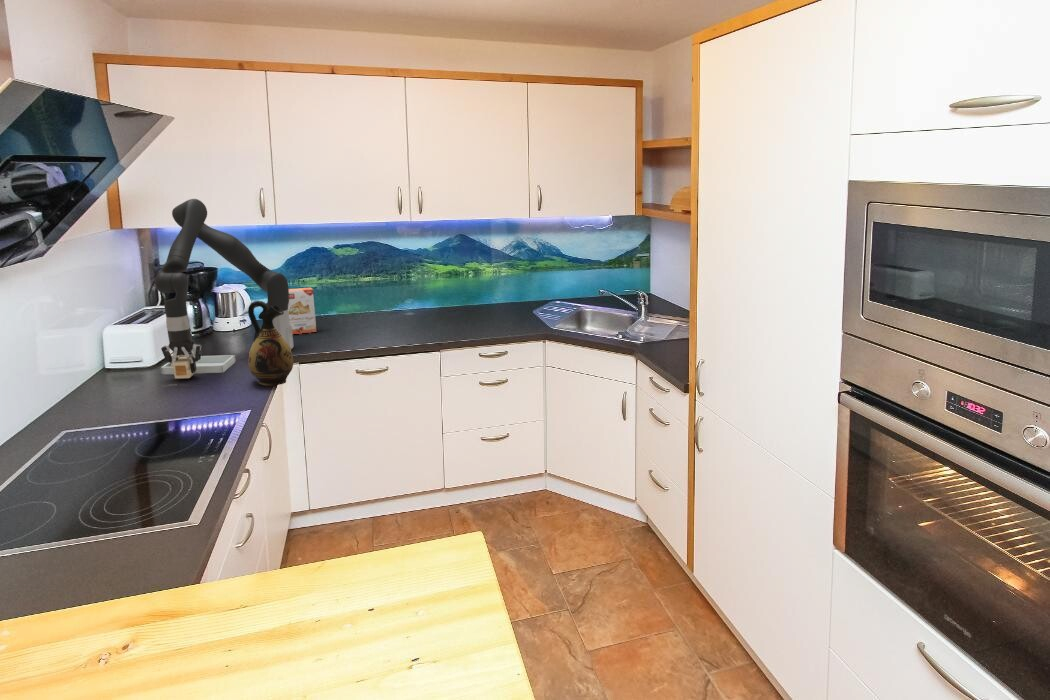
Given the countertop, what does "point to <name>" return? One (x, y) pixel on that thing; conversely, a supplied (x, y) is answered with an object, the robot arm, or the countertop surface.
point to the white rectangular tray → (206, 364)
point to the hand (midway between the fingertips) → (185, 372)
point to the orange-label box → (182, 368)
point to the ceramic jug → (268, 348)
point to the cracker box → (301, 310)
